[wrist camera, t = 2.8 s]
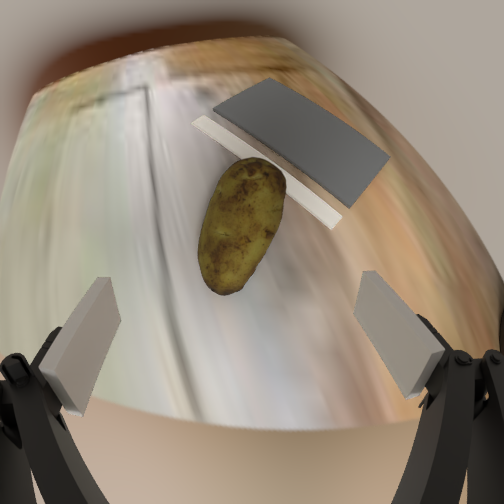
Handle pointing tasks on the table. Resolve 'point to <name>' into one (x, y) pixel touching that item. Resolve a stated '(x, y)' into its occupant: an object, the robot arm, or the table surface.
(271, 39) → the table surface
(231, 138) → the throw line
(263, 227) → the potato
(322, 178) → the mat
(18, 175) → the table surface
